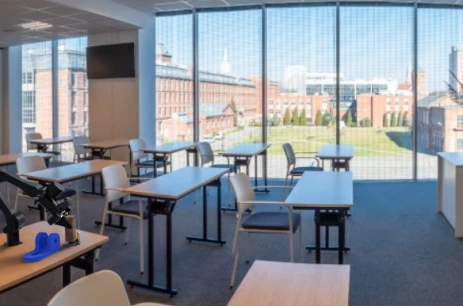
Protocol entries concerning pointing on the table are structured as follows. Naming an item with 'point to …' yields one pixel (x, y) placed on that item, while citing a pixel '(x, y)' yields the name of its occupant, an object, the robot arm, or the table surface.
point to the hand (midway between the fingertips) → (73, 227)
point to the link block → (70, 233)
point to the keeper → (73, 242)
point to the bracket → (43, 247)
